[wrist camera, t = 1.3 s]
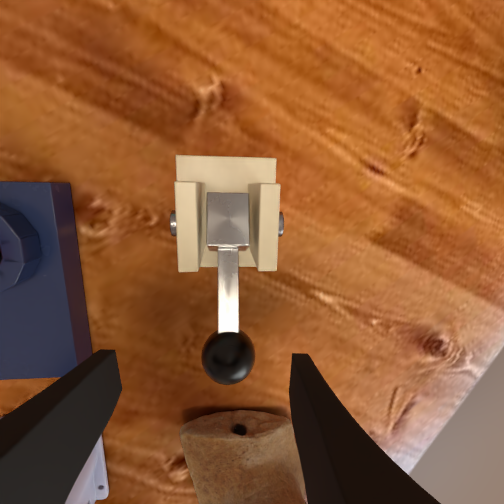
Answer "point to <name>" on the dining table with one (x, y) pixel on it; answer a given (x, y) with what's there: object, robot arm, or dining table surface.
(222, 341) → the toggle
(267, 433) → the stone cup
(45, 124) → the dining table surface
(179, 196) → the switch box
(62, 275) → the push button base
